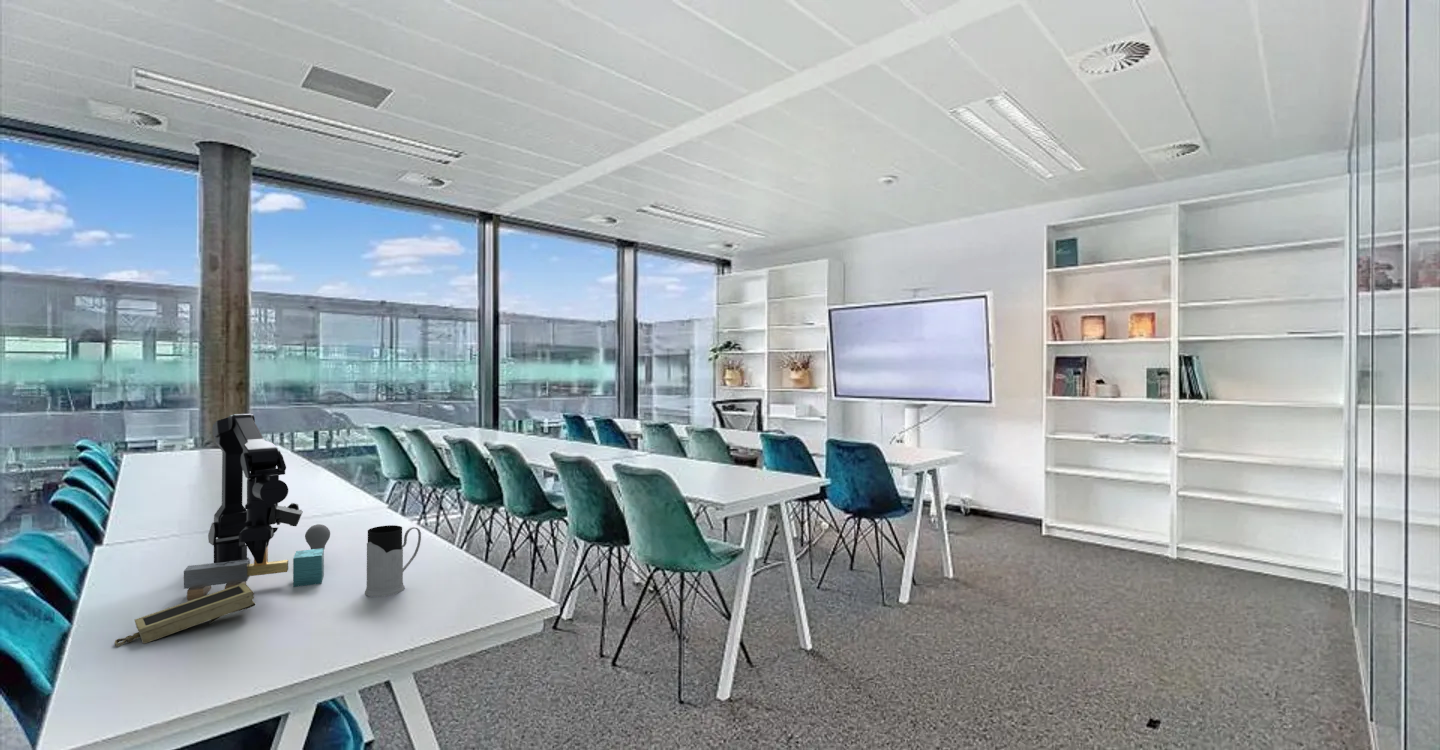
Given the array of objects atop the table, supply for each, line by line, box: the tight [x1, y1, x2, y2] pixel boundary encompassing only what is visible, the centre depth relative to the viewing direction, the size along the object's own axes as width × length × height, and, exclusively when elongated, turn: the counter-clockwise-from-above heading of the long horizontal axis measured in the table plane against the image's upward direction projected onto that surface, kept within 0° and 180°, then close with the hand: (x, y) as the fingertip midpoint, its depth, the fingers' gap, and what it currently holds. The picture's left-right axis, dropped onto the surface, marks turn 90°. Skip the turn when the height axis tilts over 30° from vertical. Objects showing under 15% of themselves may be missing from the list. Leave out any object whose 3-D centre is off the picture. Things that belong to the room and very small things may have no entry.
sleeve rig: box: [183, 548, 325, 602], centre depth 159 cm, size 28×8×7 cm, turn 118°
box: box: [114, 583, 256, 648], centre depth 135 cm, size 8×22×5 cm, turn 138°
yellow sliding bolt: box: [247, 545, 289, 577], centre depth 158 cm, size 19×3×6 cm, turn 118°
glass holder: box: [364, 524, 422, 598], centre depth 161 cm, size 9×14×15 cm, turn 152°
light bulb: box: [304, 523, 331, 550], centre depth 181 cm, size 6×6×10 cm
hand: (261, 561), depth 159 cm, fingers closed on yellow sliding bolt, 3 cm apart
